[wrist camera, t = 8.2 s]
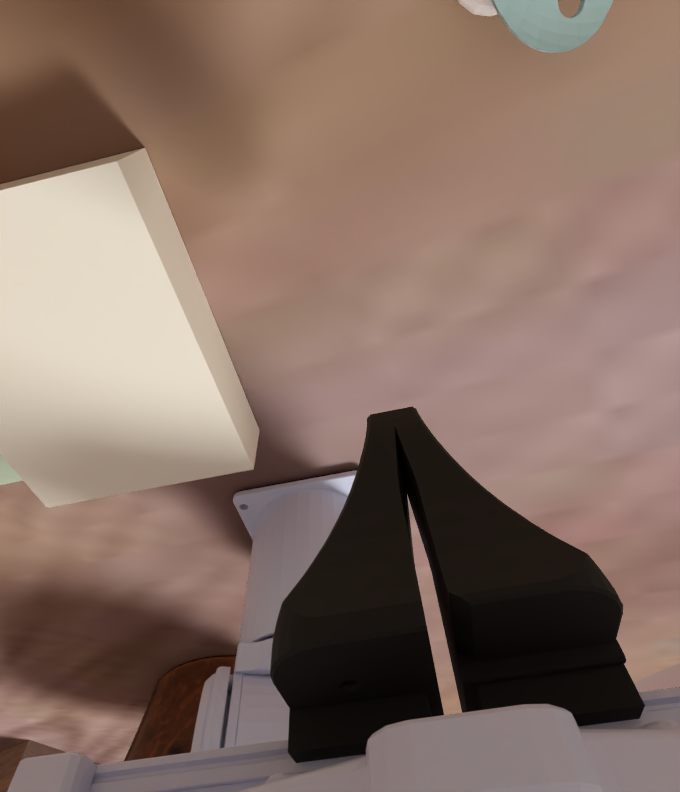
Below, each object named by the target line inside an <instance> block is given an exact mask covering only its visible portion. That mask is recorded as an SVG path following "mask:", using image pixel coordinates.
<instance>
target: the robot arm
mask: <svg viewBox="0 0 680 792" xmlns="http://www.w3.org/2000/svg"><path fill="white" fill-rule="evenodd" d="M407 494H408V498H409V501H410V504H411V507H412V510H413V513H414V516H415V520H416V523H417V526H418V529H419V532H420V535H421V538H422V541H423V544H424V548H425V551H426V554H427V557H428V560H429V564H430V568H431V571H432V576H433V580H434V585H435V589H436V594H437V598H438V603H439V607H440V612H441V616H442V621H443V626H444V630H445V635H446V639H447V644H448V648H449V653H450V658H451V662H452V667H453V672H454V676H455V681H456V685H457V690H458V695H459V699H460V704H461V709H462V713H456V714H449V715H444V713H443V708H442V703H441V698H440V693H439V688H438V682H437V677H436V672H435V667H434V662H433V657H432V652H431V646H430V641H429V636H428V631H427V626H426V621H425V616H424V611H423V606H422V601H421V596H420V591H419V586H418V581H417V576H416V571H415V564H414V556H413V547H412V537H411V527H410V518H409V508H408V499H407ZM233 503H234V505H235V507H236V509H237V511H238V513H239V515H240V517H241V519H242V521H243V523H244V525H245V527H246V529H247V530H248V532H249V534H250V536H251V538H252V540H253V544H252V551H251V559H250V567H249V574H248V582H247V589H246V597H245V605H244V612H243V620H242V627H241V635H240V643H239V644H238V647H237V654H236V661H235V668H234V675H230V669H231V667H223V666H221V667H219V668H217V670H216V673H215V674H213V675H212V676H211V677H210V678H208V679H207V680H206V681H205V684H204V687H203V691H202V695H201V700H200V705H199V710H198V715H197V720H196V725H195V731H194V736H193V742H192V748H191V753H183V754H176V755H168V756H161V757H153V758H146V759H139V760H131V761H124V762H116V763H109V764H101V765H96V764H95V763H94V762H93V761H92V760H91V759H90V758H89V757H87V756H85V755H83V754H80V753H73V752H72V753H59V754H52V755H45V756H37V757H30V758H25V759H23V760H22V761H20V762H19V765H18V767H17V769H16V772H15V774H14V777H13V779H12V781H11V784H10V786H9V788H8V791H7V792H680V687H676V688H668V689H661V690H653V691H646V692H638V691H637V689H636V687H635V685H634V683H633V681H632V679H631V677H630V675H629V673H628V671H627V669H626V667H625V665H624V663H625V662H626V658H625V655H624V653H623V651H622V649H621V647H620V645H619V643H618V642H617V640H616V637H617V633H618V629H619V626H620V622H621V618H622V615H623V604H622V603H621V601H620V599H619V597H618V595H617V593H616V591H615V589H614V588H613V586H612V585H611V583H610V582H609V581H608V579H607V578H606V577H605V575H604V574H603V573H602V571H601V570H600V569H599V567H598V566H597V565H596V564H595V562H594V561H593V560H592V559H591V558H590V556H589V555H588V554H587V553H585V552H583V551H581V550H579V549H577V548H575V547H573V546H571V545H569V544H567V543H566V542H564V541H562V540H560V539H558V538H556V537H554V536H553V535H551V534H549V533H548V532H546V531H544V530H543V529H541V528H539V527H538V526H536V525H535V524H533V523H531V522H530V521H528V520H527V519H526V518H524V517H523V516H521V515H520V514H518V513H517V512H515V511H514V510H512V509H511V508H510V507H508V506H507V505H505V504H504V503H503V502H501V501H500V500H499V499H497V498H496V497H495V496H494V495H492V494H491V493H490V492H489V491H487V490H486V489H485V488H484V487H483V486H482V485H480V484H479V483H478V482H477V481H476V480H475V479H474V478H472V477H471V476H470V475H469V474H468V473H467V472H466V471H465V470H464V469H463V468H462V467H461V466H460V465H459V464H458V463H457V462H456V461H455V460H454V459H453V458H452V457H451V456H450V454H449V453H448V452H447V451H446V450H445V449H444V448H443V446H442V445H441V444H440V443H439V442H438V441H437V439H436V438H435V437H434V436H433V434H432V433H431V432H430V430H429V429H428V428H427V426H426V425H425V423H424V422H423V420H422V419H421V417H420V415H419V414H418V412H417V410H416V409H415V408H413V407H408V408H403V409H398V410H392V411H387V412H382V413H377V414H372V415H370V416H369V417H368V418H367V431H366V438H365V443H364V448H363V452H362V455H361V459H360V463H359V467H358V470H355V471H349V472H344V473H338V474H333V475H327V476H322V477H316V478H311V479H305V480H300V481H294V482H289V483H283V484H278V485H273V486H267V487H262V488H256V489H251V490H245V491H240V492H237V493H235V494H234V496H233ZM242 504H246V505H242Z"/></svg>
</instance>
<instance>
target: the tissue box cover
mask: <svg viewBox="0 0 680 792" xmlns="http://www.w3.org/2000/svg"><path fill="white" fill-rule="evenodd" d="M59 753H67V752H64V751H61V750H58V749H55V748H52V747H49V746H46V745H43V744H40V743H37V742H34V741H31V740H28V741H25V742H23V743H20V744H18V745H15V746H13V747H10V748H8V749H5V750H2V751H0V792H7V791H8V788H9V786H10V784H11V781H12V779H13V777H14V774H15V772H16V769H17V767H18V765H19V762H20V761H22V760H23V759H25V758H30V757H37V756H45V755H52V754H59ZM94 763H95V764H96V765H101V764H99V763H96V762H94Z"/></svg>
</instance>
